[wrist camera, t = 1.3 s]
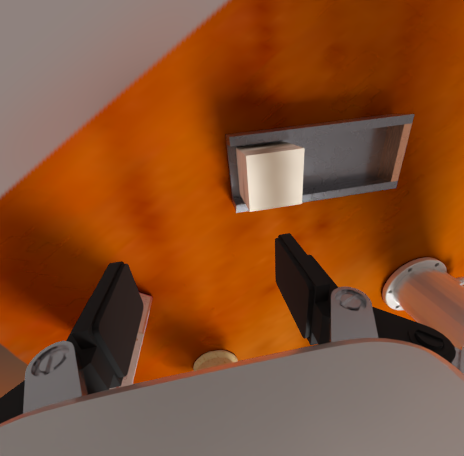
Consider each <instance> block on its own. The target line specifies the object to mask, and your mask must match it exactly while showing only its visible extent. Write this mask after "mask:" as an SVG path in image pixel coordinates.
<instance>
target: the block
mask: <svg viewBox="0 0 464 456" xmlns="http://www.w3.org/2000/svg"><path fill="white" fill-rule="evenodd" d="M304 151H305V148H303V147H300V146H297V145H294V144H291V143H288V142H284V141H281V142H274V143H266V144H258V145H250V146H243V147H236V155H237V167H238V178H239V190H240V195H241V197H242V199H243V201H244V202H245V204H246V206H247V208H248V209H249V211H250V212H252V211H258V210H265V209H271V208H278V207H284V206H290V205H297V204H302V192H303V171H304Z"/></svg>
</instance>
